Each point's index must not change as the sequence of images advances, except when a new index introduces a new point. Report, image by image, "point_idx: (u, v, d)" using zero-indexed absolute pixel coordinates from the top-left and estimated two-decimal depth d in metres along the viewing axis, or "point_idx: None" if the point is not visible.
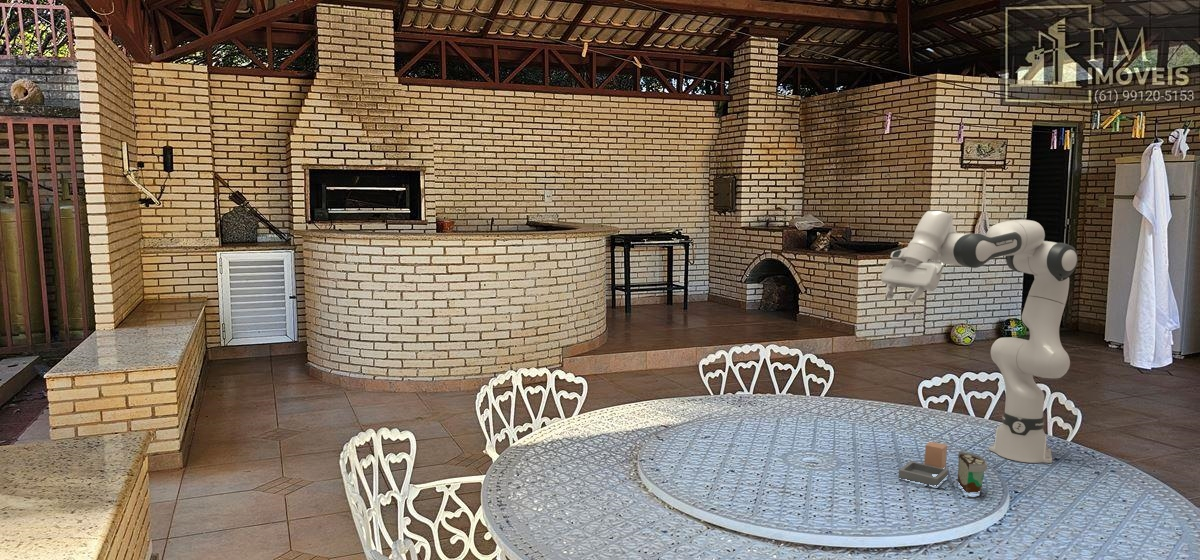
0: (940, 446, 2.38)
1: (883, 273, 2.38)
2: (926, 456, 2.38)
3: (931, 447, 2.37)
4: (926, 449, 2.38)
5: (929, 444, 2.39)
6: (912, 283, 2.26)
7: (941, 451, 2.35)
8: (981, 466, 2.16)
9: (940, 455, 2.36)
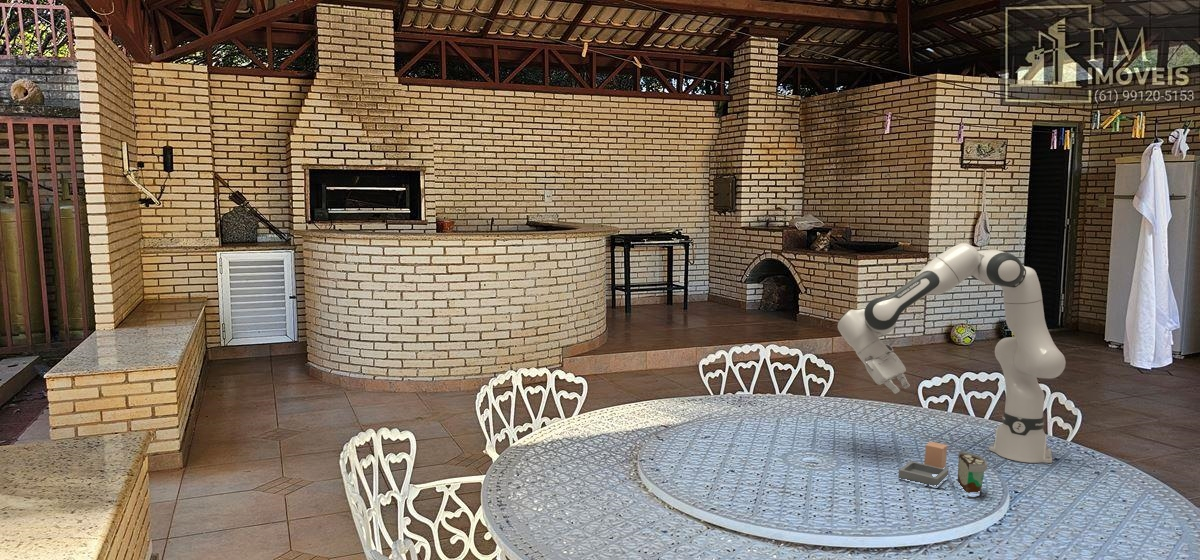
0: (940, 446, 2.38)
1: None
2: (926, 456, 2.38)
3: (931, 447, 2.37)
4: (926, 449, 2.38)
5: (929, 444, 2.39)
6: None
7: (941, 451, 2.35)
8: (981, 466, 2.16)
9: (940, 455, 2.36)
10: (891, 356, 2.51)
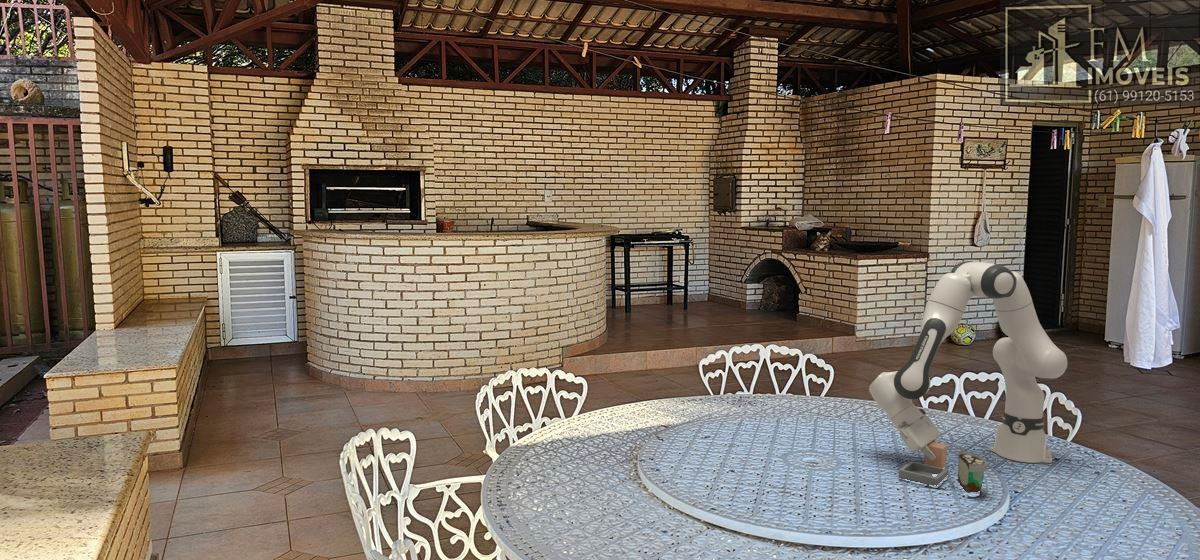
0: (940, 446, 2.38)
1: None
2: (926, 456, 2.38)
3: (931, 447, 2.37)
4: None
5: (929, 444, 2.39)
6: None
7: (941, 451, 2.35)
8: (981, 466, 2.16)
9: (940, 455, 2.36)
10: (925, 420, 2.45)
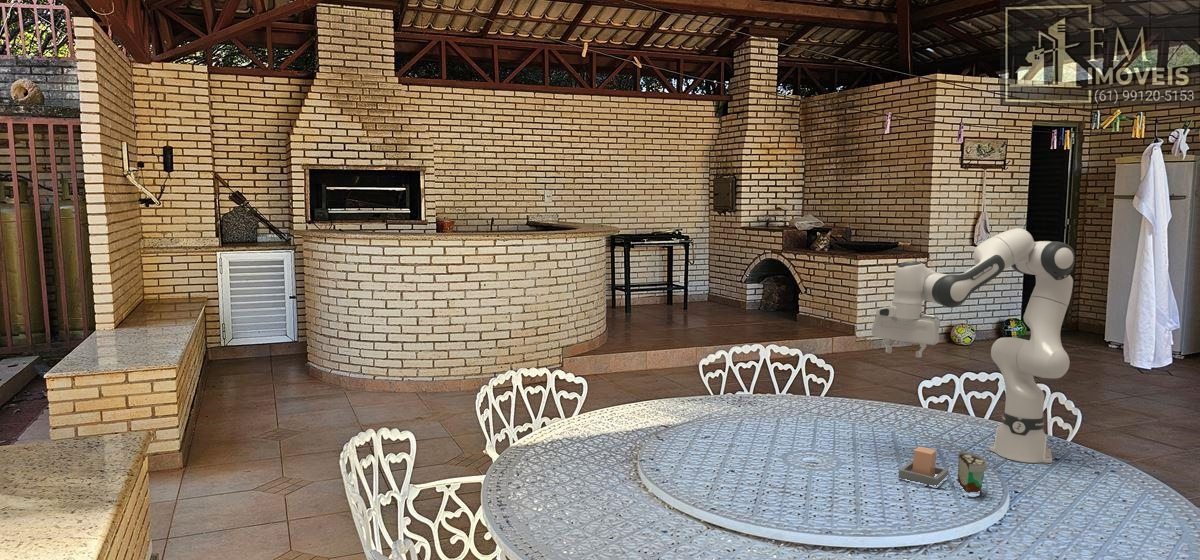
0: (929, 451, 2.29)
1: (874, 330, 2.50)
2: (914, 462, 2.29)
3: (920, 452, 2.28)
4: (914, 454, 2.29)
5: (918, 449, 2.30)
6: (915, 341, 2.42)
7: (930, 457, 2.27)
8: (981, 466, 2.16)
9: (929, 461, 2.27)
10: None
